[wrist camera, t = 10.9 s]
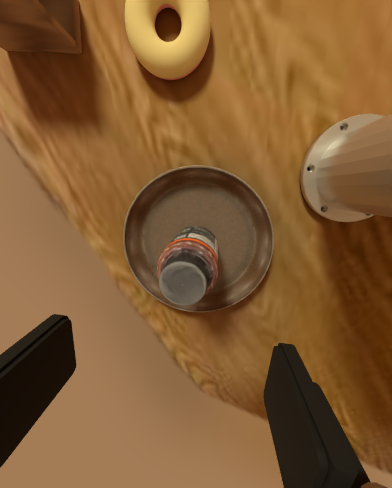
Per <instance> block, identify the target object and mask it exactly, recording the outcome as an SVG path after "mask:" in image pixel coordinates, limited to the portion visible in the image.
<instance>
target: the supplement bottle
mask: <svg viewBox="0 0 392 488" xmlns="http://www.w3.org/2000/svg"><path fill="white" fill-rule="evenodd" d="M219 252H220V251H219V247H218V243H217V239H216V237H215V235H214V234H213V233H212V232H211V231H210V230H209V229H207V228H205V227H202V226H197V225H195V226H189V227H186V228H184V229H183V230H181V231H180V232H179V233H178V234H177V235H176V236H175V238H174V239H173V240H172V241H171V242H170V243H169V244H168V246H167V247H166V248H165V249H164V250H163V252H162V253H161V255H160V257H159V260H158V264H157V273H158V277H159V287H160V290H161V292H162V294H163V295H164V297H165V298H166V299H168V300H169V301H170V302H172V303H174V304H177V305H181V306H188V305H192V304H195V303H197V302H198V301H199V300H201V299H202V297H203V296H204V295H205V294H207V293H208V292H209V291H210V290H211V289H212V288H213V287H214V285H215V283H216V281H217V278H218V273H219Z"/></svg>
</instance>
